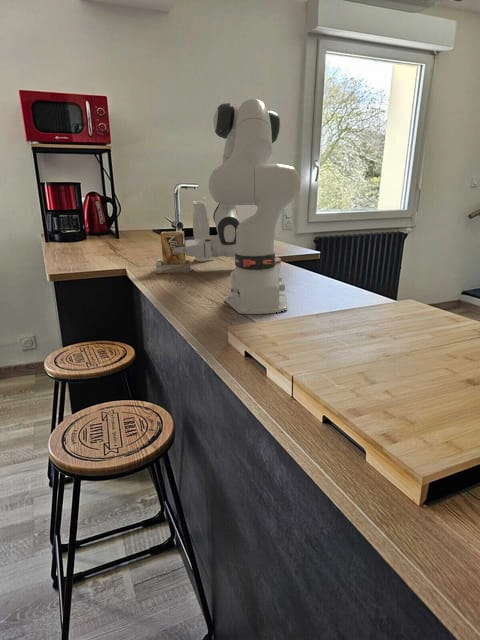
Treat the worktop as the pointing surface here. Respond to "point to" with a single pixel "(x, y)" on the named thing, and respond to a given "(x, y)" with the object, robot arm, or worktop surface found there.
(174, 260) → the candy box
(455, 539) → the worktop surface
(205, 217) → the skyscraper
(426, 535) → the worktop surface
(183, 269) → the channel
